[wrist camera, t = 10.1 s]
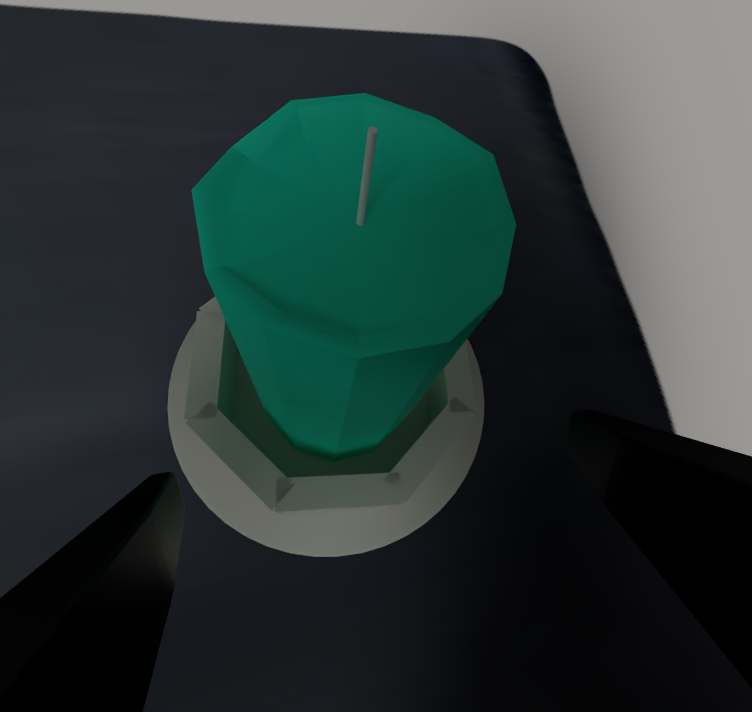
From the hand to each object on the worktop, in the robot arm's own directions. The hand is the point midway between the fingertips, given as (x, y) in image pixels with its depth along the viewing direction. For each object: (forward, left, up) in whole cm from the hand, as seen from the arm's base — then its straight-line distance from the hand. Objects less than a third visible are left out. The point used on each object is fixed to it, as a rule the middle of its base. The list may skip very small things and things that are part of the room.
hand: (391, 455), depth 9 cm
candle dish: (+4, +1, -8) cm, 9 cm away
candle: (+4, +1, -7) cm, 8 cm away
